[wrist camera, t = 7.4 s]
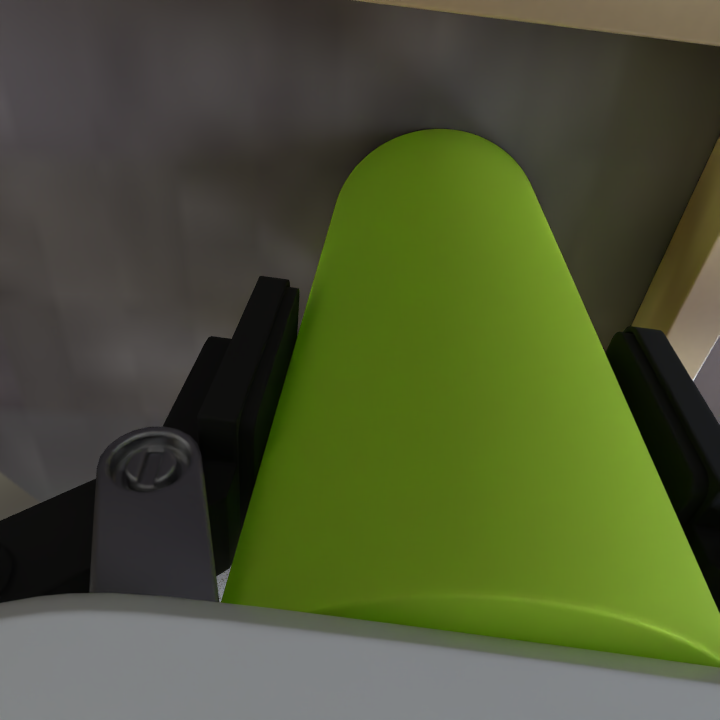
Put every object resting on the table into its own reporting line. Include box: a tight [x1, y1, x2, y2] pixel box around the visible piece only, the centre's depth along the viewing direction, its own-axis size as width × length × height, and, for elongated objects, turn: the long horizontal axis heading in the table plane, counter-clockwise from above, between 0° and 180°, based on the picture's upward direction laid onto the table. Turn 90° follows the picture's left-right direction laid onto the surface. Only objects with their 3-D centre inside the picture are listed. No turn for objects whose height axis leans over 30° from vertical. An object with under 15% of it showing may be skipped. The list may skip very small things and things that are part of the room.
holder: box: [352, 0, 720, 380], centre depth 16 cm, size 14×11×2 cm
